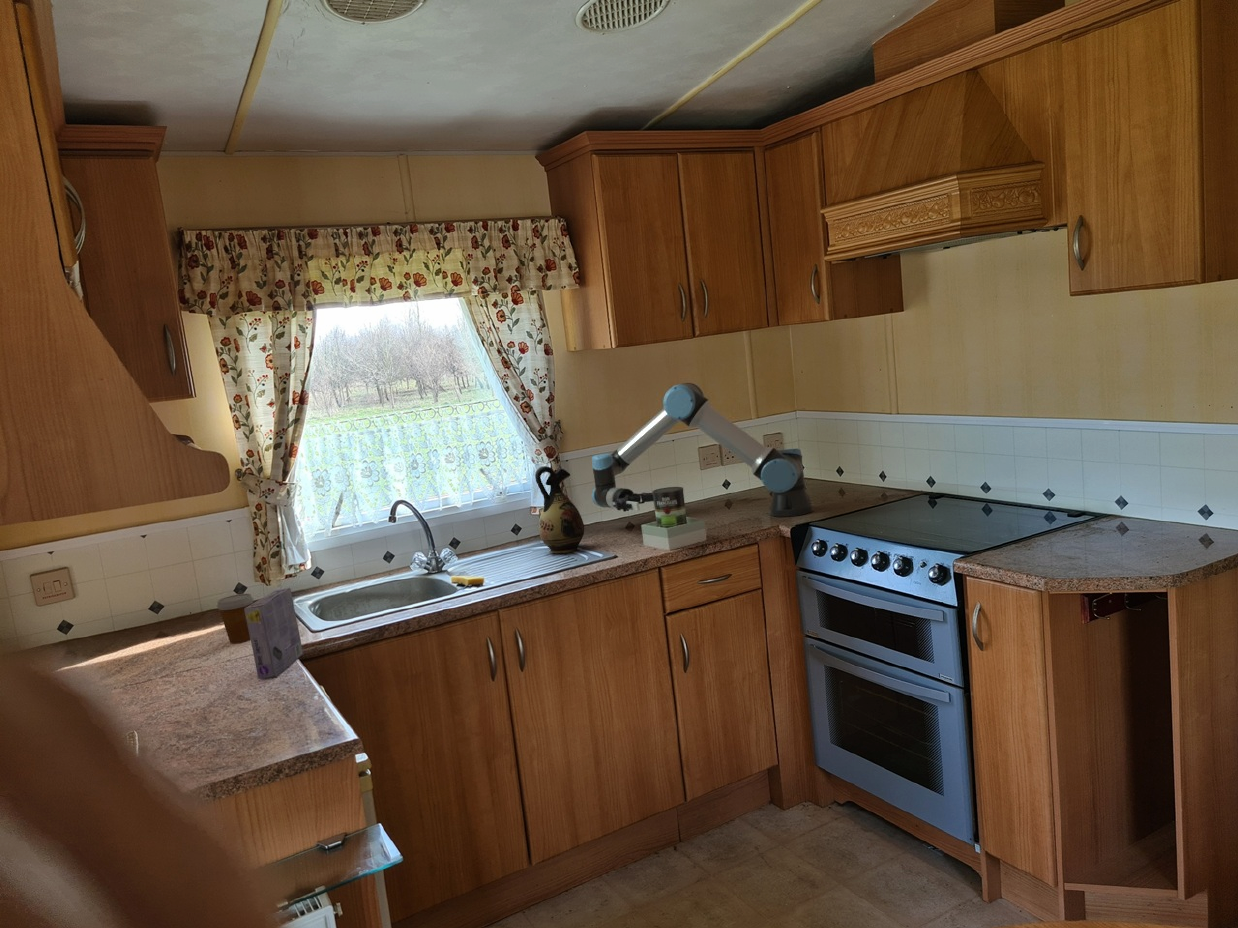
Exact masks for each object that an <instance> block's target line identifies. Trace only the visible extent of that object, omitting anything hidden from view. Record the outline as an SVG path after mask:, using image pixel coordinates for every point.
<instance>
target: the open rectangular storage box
mask: <svg viewBox="0 0 1238 928" xmlns="http://www.w3.org/2000/svg"><path fill="white" fill-rule="evenodd" d="M686 519H687V524H683V525H679V526H675V527H671V528H662V527H657V522H656V521H652V522H648V523H644V524H641V525H640V527H641V534H642V541H643V542H642V543H643V546H645V547H651V548H654V549H655V548H656V549H661V550H666V551H673V550H675V549H679V548H683V547H687V546H691V545H693V544H694V545H695V544H698V542H699V543H702V542H705V540H706V541H707V535H706V534H707V533H706V524H705V519H702V518H694V517H688V516H686Z"/></svg>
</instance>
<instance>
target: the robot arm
mask: <svg viewBox="0 0 1238 928" xmlns="http://www.w3.org/2000/svg"><path fill="white" fill-rule="evenodd" d="M663 396H664V397H663V399H662V401H663V403H662V405H663V408H662V409H661V410H659V412H658V413H656V414H655V415H654V416H653V417H652V418H651V419H649V421H648V422H646V423H645V424H644V425H643V426H641V427H640V428H639V429H638V430H637V431H636V432H635V433H633V435H632V436H630V437H629V438H628V439H627V440H626V441H625V442H623V443H622V444H621V445H620V446H619V447H618V448H617V449H615V451H613V452H612V453H611V454H610V453H600V454H596V455H593V456H592V457H591V463H592V464H591V467H592V472H593V479H594V485H595V486H594V489H593V490H592V493H591V500H592V503H594V504H595V505H596V506H599V507H601V508H605V509H606V508H609V509H616V510H617V511H621V510H622V511H623V512H628V510H629V511H630V510H631V511H637V512H638V511H640V505H642V504H645V503H649V502H654V498H653V493H652V492H641V493H635V492H634V491H633V490H632V489H629V488H624V487H623V488H622V487H617V486H616V476H617V475H620V474H621V473H623V472H624V471H625V470H626V469H627V468H628V467H629V466H630V465H631V464H633V462H635V461H636V460H637V459H638V458H639V457H641V455H642V454H644V453H645V452H647V450H648V449H650V448H651V447H652V446H653V445H654V444H655V443H656V442H658V441H659V440H660V439H661V438H662V437H663V436H665V435H666V434H667V433H668V432H669V431H670V430H672V428H674V427H675V426H676V425H677V424H678V423H683V424H685V426H687V427H689V428H697V429H699V430H700V431H701V432H702V433H704V434H706V435H707V436H708V437H710V438H711V439H712V440H713V441H715V442H717V443H718V444H719V445H720V446H722V447H723V448H725V450H727V451H728V452H730V453H731V454H733V455H734V456H735V457H737V458H738V459H739V460H741V461H742V462H743V463H745V464H746V465H748V466H749V467H750V468H751V472H752V475H753V476H755V477H756V478H757V479H758V480H760V481H761V482H762V485H763V486H764V487H765V488H766V489H767V490H769V491H771V492H772V495H771V501H770V506H769V515H770V516H772V517H783V518H785V517H795V516H796V517H797V516H803V515H807V514H809V513H811V512H813V504H812V502H811V499H810V497H809V495H808V492H807V490H806V483H805V482H806V481H805V474H804V465H803V454H802V450H801V449H800V448H788V449H776V448H775V447H773V446H770V447H766V446H765V445H763V444H762V443H761V442H759V441H758V440H757V439H755V438H754V437H753V436H751V435H750V434H748V433H747V432H745V431H744V430H743V429H742V428H740V427H739V426H737V425H736V424H734V423H733V422H732V421H730V420H729V419H728V418H727V417H726V416H724V415H723V414H721V413H720V412H718V411H717V410H715V408H713V407H712V406H711V401H710V400H709V398H706V397H705V396H704V392H703V391H702V389H701V387H700V386H698V385H697V384H695V383H692V382H685V383H681V384H675V385H673V386H672V387H670V388H669V389H668V390H667V391H666V392H665V395H663Z"/></svg>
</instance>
